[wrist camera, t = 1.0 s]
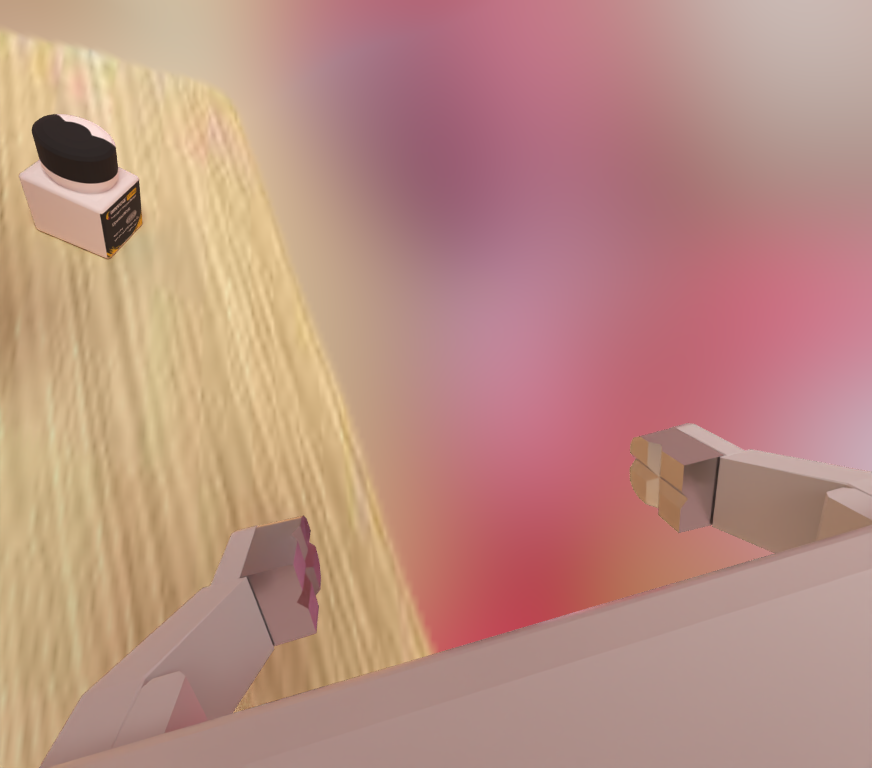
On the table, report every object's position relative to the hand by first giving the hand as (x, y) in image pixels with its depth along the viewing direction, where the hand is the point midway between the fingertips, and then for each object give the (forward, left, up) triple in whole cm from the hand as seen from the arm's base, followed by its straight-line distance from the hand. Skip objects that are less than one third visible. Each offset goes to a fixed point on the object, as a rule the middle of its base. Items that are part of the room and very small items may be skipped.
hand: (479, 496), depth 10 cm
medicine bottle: (-37, +26, -38) cm, 59 cm away
